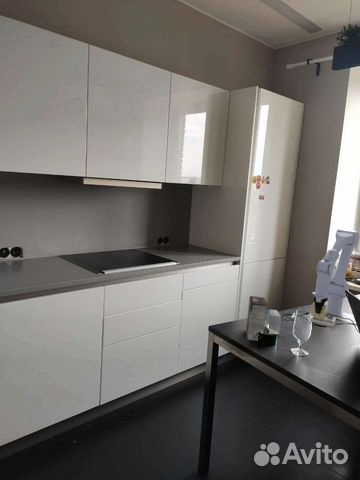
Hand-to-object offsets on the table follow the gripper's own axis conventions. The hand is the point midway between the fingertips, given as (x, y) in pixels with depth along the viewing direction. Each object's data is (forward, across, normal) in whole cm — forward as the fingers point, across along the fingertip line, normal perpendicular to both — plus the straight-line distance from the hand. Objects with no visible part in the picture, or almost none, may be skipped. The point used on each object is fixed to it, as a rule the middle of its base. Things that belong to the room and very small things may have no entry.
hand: (318, 312), depth 174 cm
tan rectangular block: (+2, 0, 0) cm, 2 cm away
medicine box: (+5, +27, -15) cm, 31 cm away
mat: (+4, 0, -7) cm, 9 cm away
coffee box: (+5, +37, -20) cm, 42 cm away
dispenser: (+4, 0, +2) cm, 5 cm away
